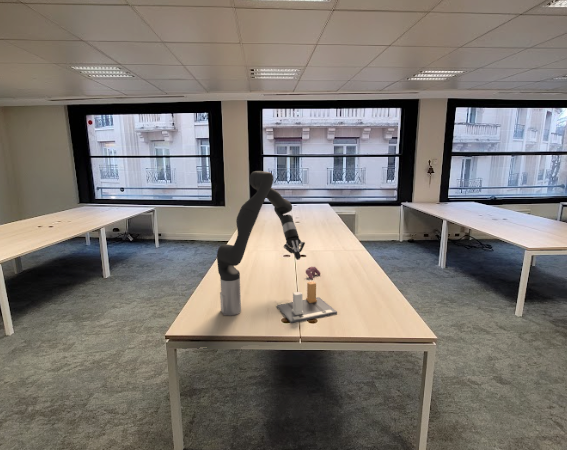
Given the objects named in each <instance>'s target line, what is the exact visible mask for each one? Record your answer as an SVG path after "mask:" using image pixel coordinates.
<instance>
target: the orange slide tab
mask: <svg viewBox="0 0 567 450" xmlns="http://www.w3.org/2000/svg"><path fill="white" fill-rule="evenodd" d="M306 283H307V285H306V289H307V290H306V291H307V292H306V297H305V300H307V301H308V302H309V303H313V302H317V300H316V298H317V283H316V282H315V281H313V280H312V281H307V282H306Z"/></svg>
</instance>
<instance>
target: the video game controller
mask: <svg viewBox="0 0 567 450" xmlns="http://www.w3.org/2000/svg"><path fill="white" fill-rule="evenodd" d="M305 274H306V275H307V277H308V278H309V279H310V280H313V279H314V276H315V275H318V276H321V271H320V270H318V268H317V267H316V266H309V267H308V268H307V269H305Z"/></svg>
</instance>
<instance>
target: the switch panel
mask: <svg viewBox="0 0 567 450" xmlns="http://www.w3.org/2000/svg"><path fill="white" fill-rule="evenodd" d="M316 300H317V302H313V303H309V302H308V301H307V300H306V299H302V311H303V314H300V315H295V314H294V313H293V312H292V309H293V301H292V302H286V303H280V304H276V308H277V309H278V310H279V311H280V313H281V314H282V315H283V317H284V318H286V319H287V321H288V322H289V323H290V324H294V323H298V322H304V321H308V320H313V319H317V318H322V317H327V316H332V315H337V314H338V311H337V310H336V309H335V308H333V307H332V306H331V305H330V304H328V303H327V302H326V301H325V300H323V298H321V297H319V296H318V297H317V296H316Z"/></svg>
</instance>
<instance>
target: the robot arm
mask: <svg viewBox="0 0 567 450" xmlns="http://www.w3.org/2000/svg"><path fill="white" fill-rule="evenodd" d="M273 183H274V175H273V173H272V172H270V171H262V170H255V171H252V172H251V173H250V175H249V184H250V186H251V187H252V188H253V189H254V190H255V191H256V192H255V194H254V195H253V196H251V197H250V198H249V199H248V200H247V201H245V202H244V204H242V205H241V208H240V209H239V212H238V214H237V216H236V219H235V220H236V229H237V237H236V238H235V239H236V240H235V241H234V244H233V245H232V244H227V243H225V244H224V243H223V244H221V245H220V246H219V247H218V250H217V251H216V260H217V261H216V262H217V271H218V274H219V278H220V279H219V281H220V292H219V297H220V311H221V313H222V316H236V315H238V314H240V313H241V312H242V301H241V300H242V299H241V297H242V296H241V275H240V271H239V270H238V269H237V268H236V267H237V266H238V265H240V263H241V262H242V260H243V257H244V254H245V252H246V248H247V245H248V242H249V238H250V237H251V233H252V231H253V228H254V226H255V225H256V221H257V220H258V216H259V214H260V212H261V209H262V206H263V204H264V202H265V200H266V199H267V200H268V202H270V203H271V205H272V206H273V207H274V208H273V209H274V212H275V214H276V216H277V217H278V219H279V221H280V222H281V223H280V224H281V226H282V231H283V235H284V238H285V241H286V242H285V244H283V249H285V250H286V251H288V253H290V254H293V255H294V258H295V259H296V260H300V259H301V252H302V251H303V250H304V246H305V245H306V242H305V241H301V239H300V237H299V236H300V235H299V233H298V231H297V230H298V229H297V227H296V224H295V222H294V218H293V216H292V215H291V214H288V213H290V212H292V210H293V205H292V202H290V201H289V200H288V199H286V198H284V197H283V196H282V194H280V192H278V191H277V190H276V189H274V187H273V188H272V186H273Z"/></svg>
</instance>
